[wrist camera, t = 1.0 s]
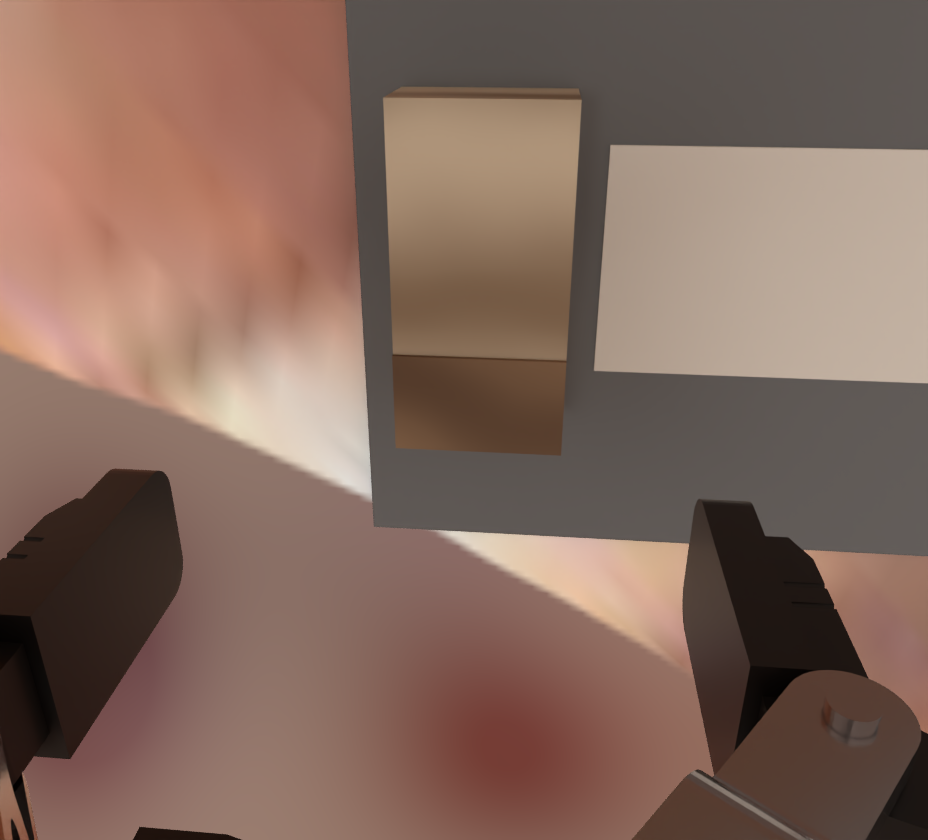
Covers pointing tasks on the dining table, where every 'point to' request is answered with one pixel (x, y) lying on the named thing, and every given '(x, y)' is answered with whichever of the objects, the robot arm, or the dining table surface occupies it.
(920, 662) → the dining table surface
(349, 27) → the mat
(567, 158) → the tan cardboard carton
